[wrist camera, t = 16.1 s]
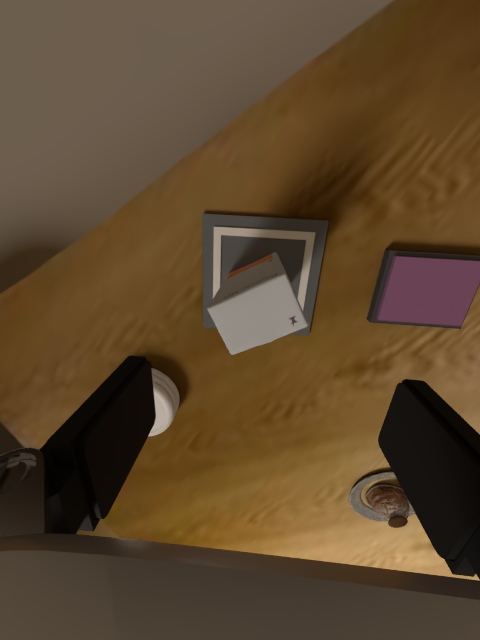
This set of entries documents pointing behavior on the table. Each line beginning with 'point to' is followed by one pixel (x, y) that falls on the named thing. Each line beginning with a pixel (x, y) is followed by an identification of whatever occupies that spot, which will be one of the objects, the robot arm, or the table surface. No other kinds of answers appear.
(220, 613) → the robot arm
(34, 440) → the table surface
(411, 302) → the ink pad
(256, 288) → the skincare box
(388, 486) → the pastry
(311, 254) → the mat
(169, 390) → the white round disc
